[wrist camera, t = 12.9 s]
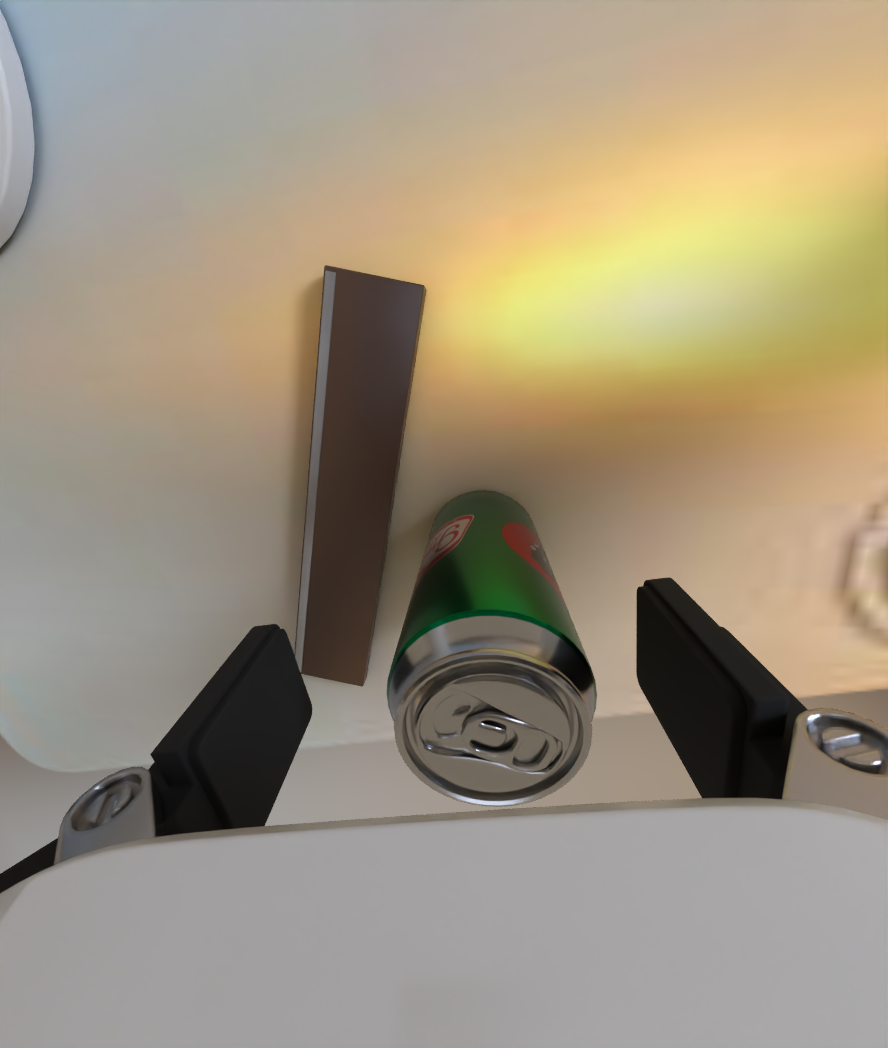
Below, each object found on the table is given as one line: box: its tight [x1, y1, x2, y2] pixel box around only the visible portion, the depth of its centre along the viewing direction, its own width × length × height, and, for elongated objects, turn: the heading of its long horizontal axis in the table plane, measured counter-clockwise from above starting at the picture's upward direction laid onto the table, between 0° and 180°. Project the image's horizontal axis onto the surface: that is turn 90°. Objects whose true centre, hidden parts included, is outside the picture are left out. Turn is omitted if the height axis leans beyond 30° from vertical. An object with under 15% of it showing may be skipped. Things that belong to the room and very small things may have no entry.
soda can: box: [387, 491, 597, 807], centre depth 15 cm, size 5×5×12 cm
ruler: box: [294, 266, 426, 686], centre depth 20 cm, size 4×20×1 cm, turn 169°
